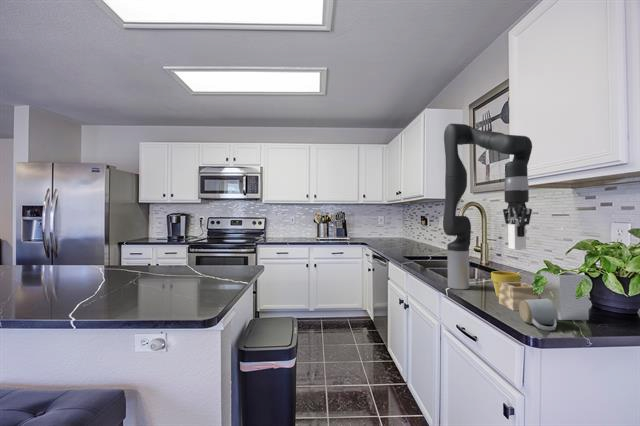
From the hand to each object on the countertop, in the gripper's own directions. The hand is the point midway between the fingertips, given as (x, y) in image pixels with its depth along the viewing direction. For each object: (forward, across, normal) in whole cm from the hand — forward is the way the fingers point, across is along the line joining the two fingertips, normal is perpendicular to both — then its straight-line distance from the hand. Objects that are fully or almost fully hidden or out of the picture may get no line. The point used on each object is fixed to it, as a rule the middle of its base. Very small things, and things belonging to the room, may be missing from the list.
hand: (517, 235), depth 115 cm
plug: (+5, 0, 0) cm, 5 cm away
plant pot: (+26, -13, +3) cm, 29 cm away
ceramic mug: (+26, +18, -4) cm, 33 cm away
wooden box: (+26, 0, 0) cm, 26 cm away
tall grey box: (+26, +10, +9) cm, 29 cm away
